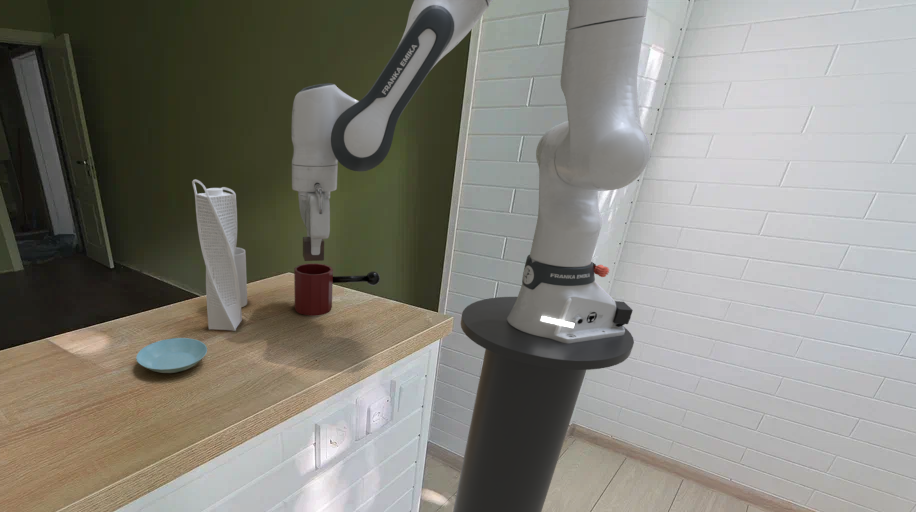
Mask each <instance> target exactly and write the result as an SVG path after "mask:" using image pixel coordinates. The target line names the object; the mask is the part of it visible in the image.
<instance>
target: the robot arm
mask: <svg viewBox="0 0 916 512" xmlns="http://www.w3.org/2000/svg"><path fill="white" fill-rule="evenodd" d="M493 1H494V0H413V2H412V5H411V8H410V10H409V12H408V17H407V21H406V27H405V29H404V32H403V34H402V37H401V39H400V41H399V43H398V45H397V48H396V49H395V50H394V52H393V53H392V55H391V57H390V58H389V60H388V62H387V63H386V65H385V66H384V68H383V69H382V71H381V73H379V76H378V77H377V78H376V80H375V81H374V83H373V85H372V86H371V87H370V89H369V90H368V92H367V93H366V94H365V95H364V96H363V97H362V98H361V99H360V100H358V99H355V98H354V97H352V96H350V95H349V94H347V93H346V92H344V91H343V90H342V89H340V88H339V87H337V85H336V84H335V83H331V82H326V83H325V82H324V83H318V84H313V85H309V86H306V87H303V88H301V89H300V90H299V91H298V92H297V93H296V95H295V96H294V98H293V103H292V109H291V110H292V111H291V131H290V132H291V136H290V137H291V142H292V147H293V153H292V158H291V189H292V191H295V192H297V196H298V197H297V198H298V206H299V207H298V208H299V214H300V219H301V220H302V222H303V224H304V227H305V229H306V237H310V238H311V254H312V255H319V254H320V245H321V241H322V239H323V240H328V239H329V238H330V233H331V207H330V205H331V204H330V199H331V192H334V191H336V190H337V189H338V170H339V169H338V168H339V167H338V165H339V164H340V165H341V166H343V167H344V168H346V169H347V170H350V171H353V172H367V171H370V170H373V169H375V168H376V167H378V166H379V165H381V163H382V162H383V161H385V159H386V158H387V157H388V154H389V153H390V150H391V147H392V143H393V138H394V134H395V131H396V126H397V123H398V121H399V119H400V117H401V116H402V113H403V112H404V111H405V109H406V107H407V106H408V104H409V103H410V102H411V100H412V98H413V97H414V96H415V94H416V92H417V91H418V89H420V87H421V85H422V84H423V82H424V81H425V79H426V78H427V77H428V76H429V75H428V74H429V73H430V72H431V70H433V68H434V67H435V66H436V65H437V64H438V63H439V62H440V61H441V60H442V59H443V58H444V57H445V56H446V55H447V54H448V53H450V52H451V51H452V50H453V49H454V48H456V46H458V45H459V44H460V42H461V41H462V40H464V39H465V37H467V35H468V34H469V33H470V32H471V30H473V28H474V27H475V26H476V25H477V23H478V22H479V21H480V19H481V18H482V17H483V16H484V14H485V13H486V11H487V9H488V8H489V7H490V5H491V4H492V2H493ZM568 7H569V8H568V15H567V21H566V29H565V36H564V38H565V39H564V46H563V54H562V55H563V56H562V64H561V71H560V72H561V73H560V88H561V92H562V93H563V95H564V99H565V104H566V114H567V120H566V121H563V122H561V123H558V124H556V125H554V126H552V127H550V128H549V129H548V130H547V131H546V132H545V133H544V134H543V135H542V136H541V138H540V140H539V141H538V143H537V146H536V151H535V159H536V162H537V166H538V211H537V219H536V224H535V230H534V234H533V239H532V244H531V247H530V253H529V254H528V255H527V256H526V260H525V264H524V269H523V272H522V279H521V285H520V286H521V287H520V289H519V292H518V295H517V296H516V297H517V300H516V302H515V304H514V306H513V308H512V310H511V312H510V314H509V315H508V317H507V321H508V322H509V324H510V325H512V326H513V327H515V328H516V329H518V330H521V331H523V332H526V333H529V334H532V335H536V336H540V337H545V338H550V339H553V340H556V341H559V342H562V343H568V344H569V343H576V342H583V341H589V340H596V339H602V338H608V337H615V336H621V335H624V333H625V329H624V327H625V326H624V325H629V322H630V320H631V317H632V313H633V309H632V307H630V306H629V304H627V303H626V302H625V301H621V300H620V301H618V300H615V299H614V298H613V297H612V296H611V295H610V294H609V293H608V292H607V291H606V290H605V289H604V288H603V287H602V286H601V285H600V284H599V283H598V282H597V281H596V277H595V276H599V277H601V278H605V277H607V276H608V275H609V273H610V268H609V267H607V266H604V265H603V264H597V265H596V263H594V262H593V256H594V253H595V251H596V247H597V243H598V240H599V236H600V234H601V229H602V225H603V220H602V215H601V212H600V207H599V192H607V191H608V192H609V191H615V190H620V189H623V188H625V187H627V186H629V185H631V184H632V183H633V182H634V181H636V180H637V179H638V178H639V177H640V176H641V175H642V174H643V172H644V171H645V169H646V167H647V166H648V164H649V161H650V157H651V142H650V140H649V138H648V136H647V135H646V133H645V131H644V129H643V127H642V123H641V116H640V109H639V108H640V107H639V99H638V97H639V96H638V69H639V63H640V55H641V49H642V43H643V36H644V31H645V25H646V17H647V13H648V7H649V0H568ZM623 326H624V327H623Z"/></svg>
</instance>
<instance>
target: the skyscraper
mask: <svg viewBox="0 0 916 512" xmlns="http://www.w3.org/2000/svg"><path fill="white" fill-rule="evenodd" d="M191 184H192V188H193V192H194V202H195V215H196V224H197V225H196V227H197V232H198V239H199V240H198V241H199V244H200V250H201V255H202V257H203V258H202V259H203V260H204V261H203V262H204V265H205V292H206V293H205V294H206V295H205V296H206V297H205V299H206V313H207V326H208V327H207V328H208V330H217V331H218V330H220V331H233V332H236V330H237V329H238V327H239V325H240V323H241V322H243V313H242V307H241V298H240V289H239V281H238V275H237V270H236V265H235V261H234V259H235V252H236V247H237V242H238V207H237V194H236V192H235V191H234V190H233V189H231V188H229V187H227V186H222V187H210V188H207V187H206V185H204V183H203V182H202V181H201V180H199V179H196V178H195V179H193V180H192V181H191ZM196 184H199V185H200V186H201V187H202V188H203V190H204V192H201V193H200V192H199V193H198V191H197V186H196ZM226 191H227V192H226Z"/></svg>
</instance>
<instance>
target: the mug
mask: <svg viewBox="0 0 916 512" xmlns="http://www.w3.org/2000/svg"><path fill="white" fill-rule="evenodd" d="M246 255H247V254H246V249H244V248H242V247H237V246H236V252H235V259H234V261H235V265H236V270H237V275H238V281H239V289H240V298H241V308H243V307H246V306H247V305H248V282H247V281H248V280H247V256H246Z"/></svg>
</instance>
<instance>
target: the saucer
mask: <svg viewBox="0 0 916 512" xmlns="http://www.w3.org/2000/svg"><path fill="white" fill-rule="evenodd" d="M207 353H208V347H207V345H206V344H205V343H204V342H202V341H201V340H198V339H195V338H190V337H189V338H188V337H173V338H167V339H166V338H165V339H162V340H157V341H155V342H152V343H150V344H148V345H146V346H144V347H142V348H141V349H140V350H139V351H138V353H137V354H136V357H135V359H136V363H138V364H139V365H140V366H142V367H143V368H145V369H148V370H150V371H152V372H155V373H161V374H175V373H179V372H180V373H181V372H183V371H186V370H189V369H190V368H193V367H194V366H196V365H198V363H200V362H201V361H202V359H203V358H204V357H205V356H206V355H207Z"/></svg>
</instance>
